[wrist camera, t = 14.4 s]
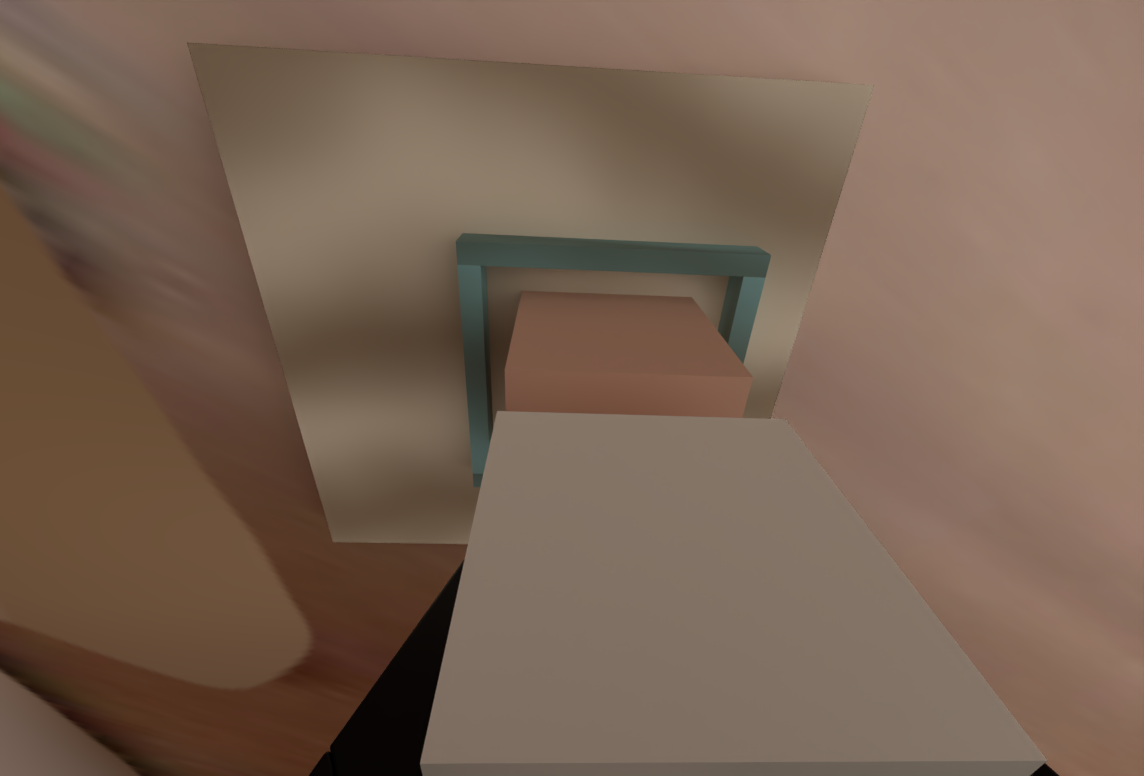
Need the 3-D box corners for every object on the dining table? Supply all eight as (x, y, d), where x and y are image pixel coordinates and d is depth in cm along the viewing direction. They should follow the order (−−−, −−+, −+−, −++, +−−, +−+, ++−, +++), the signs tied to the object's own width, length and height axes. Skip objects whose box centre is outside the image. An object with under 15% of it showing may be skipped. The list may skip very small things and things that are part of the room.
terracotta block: (666, 435, 16) (706, 549, 12) (523, 431, 16) (509, 547, 12) (691, 297, 14) (753, 377, 9) (522, 290, 13) (504, 370, 9)
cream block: (724, 602, 11) (841, 937, 6) (503, 600, 10) (463, 946, 6) (785, 418, 8) (1048, 761, 4) (497, 410, 8) (420, 764, 4)
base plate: (721, 526, 20) (738, 568, 18) (345, 519, 19) (321, 562, 17) (847, 88, 12) (900, 81, 10) (220, 49, 12) (153, 35, 10)
